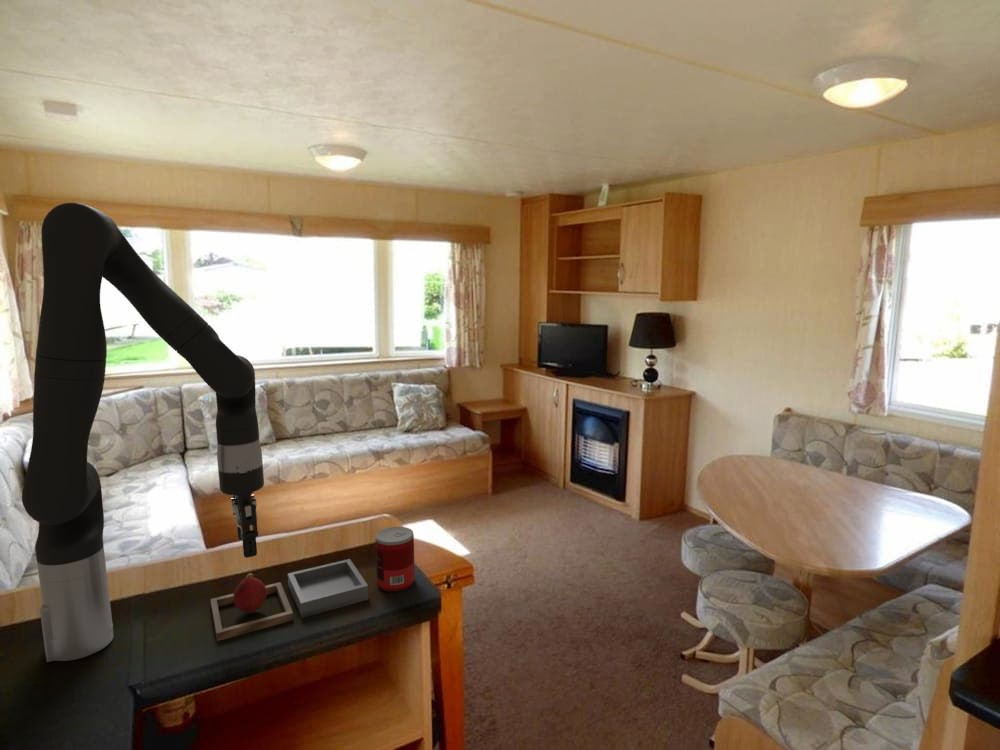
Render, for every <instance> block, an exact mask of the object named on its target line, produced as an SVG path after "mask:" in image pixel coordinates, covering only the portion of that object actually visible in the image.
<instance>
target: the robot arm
mask: <svg viewBox="0 0 1000 750" xmlns="http://www.w3.org/2000/svg"><path fill="white" fill-rule="evenodd" d="M40 234H41V250H42V253H41V254H42V269H43V270H42V271H43V294H42V303H41V308H40V316H39V325H38V332H37V333H38V335H37V343H36V351H35V361H34V362H35V364H34V372H33V373H34V376H33V379H34V380H33V398H32V399H33V403H32V428H33V429H32V441H31V447H30V448H31V449H30V454H29V458H28V463H27V468H26V473H25V478H24V482H23V486H22V490H21V502H22V505H23V507H24V509H25V512H26V514H28V516H29V517H30V518H32V520H33V521H36V522H38V533H37V537H36V541H35V546H34V549H35V550H34V551H35V559H36V565H37V574H38V578H39V579H38V580H39V586H40V587H39V588H40V594H41V601H42V603H41V607H40V609H39V614H40V622H41V627H42V628H41V629H42V630H41V631H42V635H43V643H44V644H43V646H44V651H45V652H44V653H45V658H46V663H50V662H55V661H56V662H58V661H59V662H66V661H67V662H69V661H75V660H79V659H83V658H86V657H89V656H91V655H93V654H96V653H97V652H99V651H101V650H103V649H104V648H106V647H107V646H108V645H109V644H110V643H111V642H112V641H113V639H114V624H113V617H112V610H111V609H112V608H111V607H112V606H111V601H110V591H109V584H108V583H109V582H108V574H107V573H108V572H107V565H106V556H105V545H104V527H105V516H104V506H103V505H104V503H103V493H102V483H101V479H100V475H99V472H98V471H97V469H96V467H95V466H94V465H93V464H91V463H90V462H89V461H88V450H89V449H88V446H89V441H90V440H89V439H90V434H91V430H92V428H93V424H94V422H95V418H96V415H97V412H98V409H99V406H100V402H101V398H102V396H103V395H102V394H103V389H104V386H105V378H106V368H107V367H106V366H107V357H108V356H107V355H108V354H107V352H108V351H107V349H108V348H107V345H108V344H107V335H106V329H105V323H104V319H103V314H102V308H101V287H102V282H103V278H104V279H105V280H106V281H107V282H109V283H110V284H111V285H112V286H113V287H114V288H115V289H116V290H118V291H119V293H120V294H121V295H123V297H124V298H126V299H127V301H128V302H129V303H130V304H131V305H132V307H133V308H134V309H135V310H136V311H137V312H138V314H139V315H140V317H142V319H143V320H144V321H145V323H147V325H148V326H149V327H150V328H151V329H152V330H153V332H155V334H157V335H158V336H159V337H160V338H161V339H162V340H163V341H164V342H165V344H167V345H168V346H170V348H172V349H173V350H174V351H175V352H176V353H177V354H178V355H179V356H180V357H182V358H183V359H184V360H185V361H187V362H188V363H189V365H190V366H191V368H192V369H193V370H194V371H195V372H196V374H197V375H198V376H199V377H200V378H201V379H202V380H203V382H204V383H206V385H207V386H208V387H210V389H212V390H213V392H215V398H216V400H215V401H216V405H217V407H216V408H217V409H216V416H215V430H216V441H217V442H216V443H217V444H216V445H217V450H216V459H217V471H218V472H217V473H218V480H219V481H218V482H219V491H220V493H222V494H224V495H226V496H232V497H231V498H230V502H231V509H232V514H233V516H234V520H235V521H236V529H237V537H238V540H239V541H240V540H242V551H243V553H242V554H243V557H244V558H246V559H247V558H251V557H256V556H257V555H258V549H257V537H259V530H258V515H257V505H258V504H257V498H255V494H253V493H255V492H257V491H259V490H261V489H262V488H263V487H264V485H265V479H264V464H263V453H262V446H261V442H260V433H259V431H260V430H259V429H260V428H259V420H258V415H257V411H256V410H257V409H256V408H257V407H256V371H255V368H254V366H253V364H252V362H250V361H249V360H248V359H247V358H246V357H244V356H241V355H239V354H238V355H237V354H235V352H234V351H232V349H230V348H229V346H227V345H226V344H225V343H224V342H223V341H222V340H221V339H220V337H219V334H218V333H217V331H215V329H214V328H213V327H212V326H211V325H210V324H209V323H208V322H207V321H206V320H205V319H204V318H203V317H202V316H201V315H200V314H199V313H198V312H197V311H196V310H195V309H194V308H192V306H191V305H189V304H188V303H187V302H186V301H185V300H184V299H183V298H182V297H181V296H180V295H179V294H177V293H176V291H174V290H173V289H172V288H171V287H170V286H169V285H168V284H166V283H165V282H164V281H163V280H162V279H161V278H160V277H159V276H158V275H157V274H156V273H155V272H154V271H153V269H152V268H150V266H149V265H148V264H147V263H146V262H145V261H144V260H143V259H142V257H141V256H140V255H139V254H138V253H137V252H136V250H135V249H134V248H133V246H132V245H131V243H130V242H129V241H128V240H127V238H126V237H125V235H124V234H123V233H122V231H121V230H120V229H119V227H118V225H117V224H116V223H115V220H114V219H112V218H111V217H110V216H109V215H108V214H107V213H105V212H103V211H101V210H99V209H98V208H95V207H92V206H90V205H86V204H85V203H82V202H81V203H79V202H63V203H61V204H58V205H56V206H55V207H53V208H52V209H51V210H50V211H49V212H48V213H47V214H46V215H45V217H44V219H43V222H42V224H41V233H40ZM251 528H252V529H251Z"/></svg>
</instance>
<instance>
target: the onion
mask: <svg viewBox="0 0 1000 750" xmlns="http://www.w3.org/2000/svg"><path fill="white" fill-rule="evenodd" d="M265 586H266V585H265V583H263V581H262V580H261V579H259V578H257V577H254V574H253V573H251V572H250V573H248V574H247V575H246V577H245V578H243V579H242V580H241V581H240V582H239V584H237V586H235V587H236V588H235V589H234V592H233V594H234V603H233V604H234V606H235V607H236V609H238V610H239V611H241V612H244V613H247V614H254V613H256V611H258V609H260V607H262V606H263V605H264V604H265V602H266V599H267V597H268V595H267V590H266V587H265Z"/></svg>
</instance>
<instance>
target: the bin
mask: <svg viewBox="0 0 1000 750" xmlns="http://www.w3.org/2000/svg"><path fill="white" fill-rule="evenodd" d="M287 581H288V582H287V584H288V589H289V592H290V594H291V596H292V598H293V601H294V604H295V605H296V608H297V610H298V613H299V615H300V617H301V618H306V617H311V616H314V615H317V614H322V613H324V612H328V611H333V610H335V609H340V608H343V607H346V606H350V605H353V604H357V603H361V602H364V601H369V600H368V599H370V598H369V585H368V583H367V582H366V580H365V578H363V576H362V574H361V572H360V571H359V569H357V567H356V566H355V564H354V563H353V562H352V560H351V558H348V559H344V560H339V561H336V562H331V563H327V564H324V565H318V566H315V567H314V566H313V567H310V568H306V569H301V570H296V571H293V572H289V573H287Z"/></svg>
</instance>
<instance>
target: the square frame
mask: <svg viewBox="0 0 1000 750" xmlns="http://www.w3.org/2000/svg"><path fill="white" fill-rule="evenodd" d="M265 587H266V590H267V596H268V595H271V594H277V597H278V600H279V602H280V605H281V607H282V610H283V612H281V613H277V614H276V613H275V614H273V615H269V616H266V617H261V618H258V619H254V620H250V621H247V622H244V623H238V624H235V625H232V626H228V627H224V628H223V627H222V620H221V614H220V611H219V607H223V606H228V605H231V604H232V605H233V604H234V593H231V594H226V595H221V596H217V597H213V598H210V607H211V613H212V619H213V624H214V625H213V626H214V630H215V631H214V632H215V637H216V642H219V641H222V640H223V641H224V640H226V639H231V638H234V637H238V636H240V635H244V634H248V633H252V632H255V631H259V630H262V629H266V628H271V627H274V626H278V625H281V624H284V623H288V622H292V621H294V612H293V610H292V607H291V604H290V602H289V600H288V597H287V595H286V592H285V589H284V588H283V585H282V583H281V581H280V582H275V583H272V584H271V583H270V584H268V585H265Z"/></svg>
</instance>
